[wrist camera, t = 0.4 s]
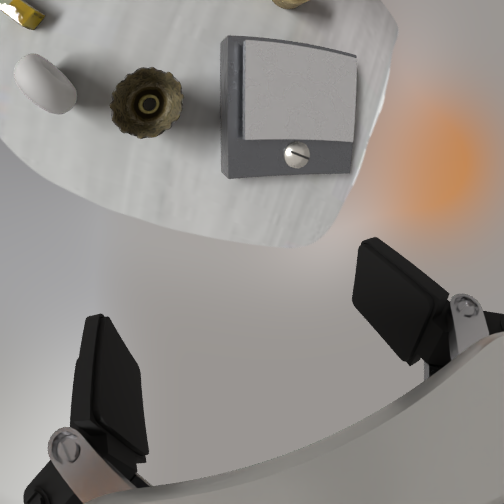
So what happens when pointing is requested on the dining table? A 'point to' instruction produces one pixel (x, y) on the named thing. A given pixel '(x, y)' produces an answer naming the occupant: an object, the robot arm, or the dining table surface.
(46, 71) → the grey rounded slab
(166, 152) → the dining table surface
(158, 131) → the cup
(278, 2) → the brass weight
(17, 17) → the medication box
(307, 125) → the scale pan
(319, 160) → the scale
